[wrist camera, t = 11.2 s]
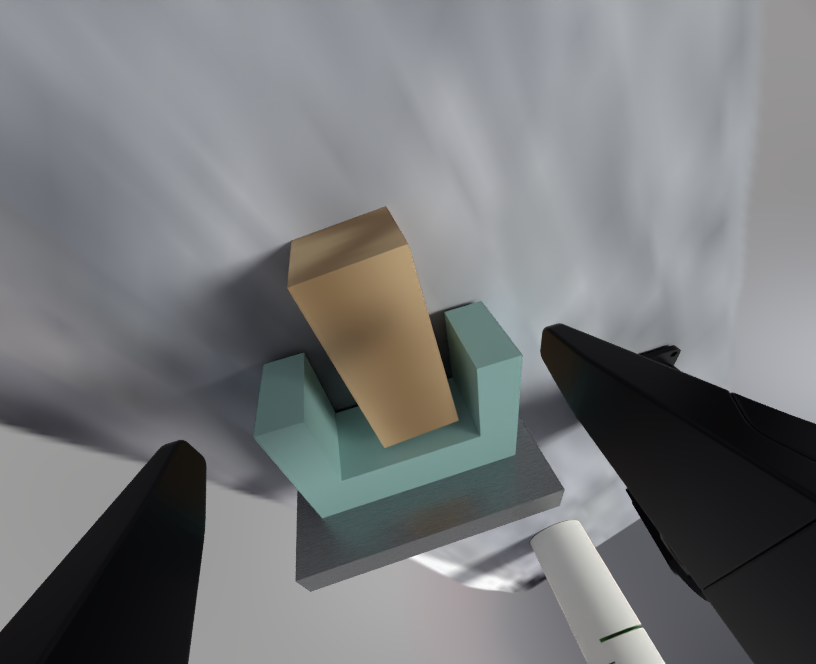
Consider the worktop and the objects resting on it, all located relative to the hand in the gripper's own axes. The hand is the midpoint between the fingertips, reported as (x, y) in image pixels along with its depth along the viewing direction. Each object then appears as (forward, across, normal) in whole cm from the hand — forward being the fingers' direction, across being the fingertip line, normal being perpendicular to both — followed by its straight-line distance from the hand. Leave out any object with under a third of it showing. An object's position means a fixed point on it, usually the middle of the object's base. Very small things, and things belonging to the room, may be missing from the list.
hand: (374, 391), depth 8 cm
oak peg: (+8, -1, +4) cm, 9 cm away
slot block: (+8, 0, +8) cm, 11 cm away
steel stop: (+8, 0, +13) cm, 15 cm away
